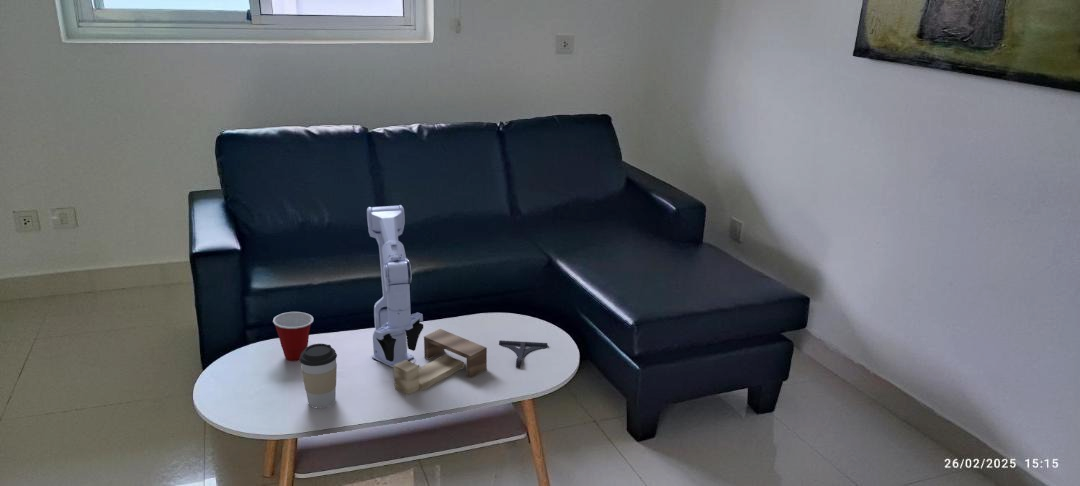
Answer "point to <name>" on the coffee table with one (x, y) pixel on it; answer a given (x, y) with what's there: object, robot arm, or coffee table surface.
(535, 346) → the bracket
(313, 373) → the coffee cup
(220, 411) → the coffee table surface
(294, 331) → the plastic cup
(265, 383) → the coffee table surface
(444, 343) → the walnut shelf
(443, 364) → the oak l-shaped block
